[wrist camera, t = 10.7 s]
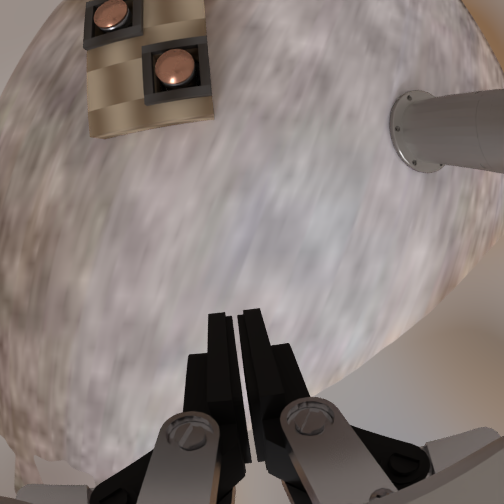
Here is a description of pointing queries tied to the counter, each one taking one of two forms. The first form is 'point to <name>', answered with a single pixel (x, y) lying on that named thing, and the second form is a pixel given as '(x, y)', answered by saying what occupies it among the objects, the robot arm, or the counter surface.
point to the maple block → (144, 68)
